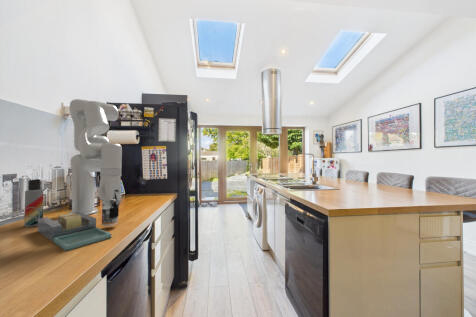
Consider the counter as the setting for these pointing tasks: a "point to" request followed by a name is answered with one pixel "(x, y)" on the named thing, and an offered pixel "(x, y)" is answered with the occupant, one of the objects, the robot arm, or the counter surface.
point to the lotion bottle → (33, 203)
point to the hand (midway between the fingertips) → (110, 215)
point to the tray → (81, 238)
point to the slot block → (57, 230)
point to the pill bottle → (105, 215)
